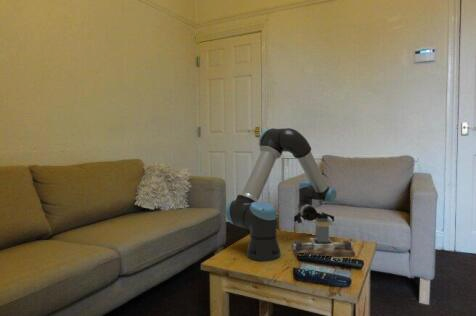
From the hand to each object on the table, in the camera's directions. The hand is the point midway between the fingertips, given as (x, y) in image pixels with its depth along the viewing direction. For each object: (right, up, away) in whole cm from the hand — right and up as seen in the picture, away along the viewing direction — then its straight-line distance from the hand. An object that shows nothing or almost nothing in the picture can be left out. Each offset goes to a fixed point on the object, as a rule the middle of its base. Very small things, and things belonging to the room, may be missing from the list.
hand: (317, 222), depth 164 cm
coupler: (0, -10, -9) cm, 13 cm away
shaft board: (0, -12, -9) cm, 14 cm away
